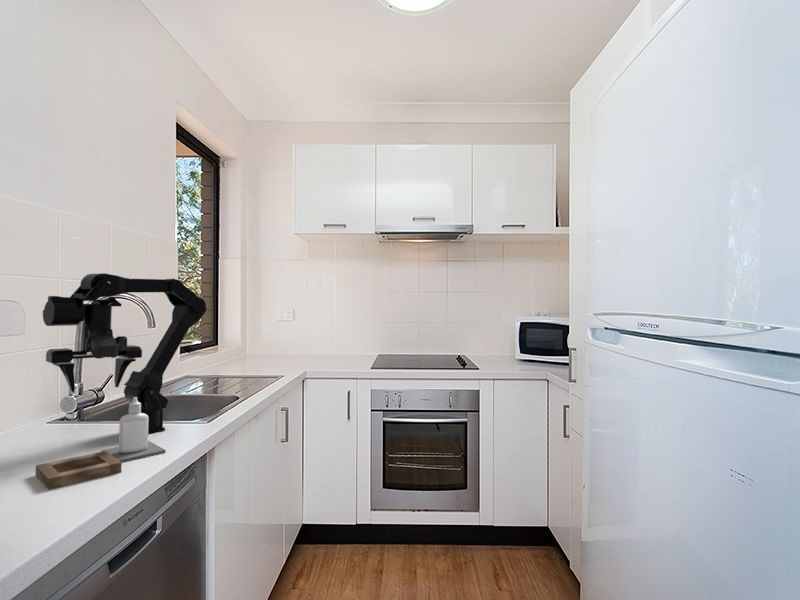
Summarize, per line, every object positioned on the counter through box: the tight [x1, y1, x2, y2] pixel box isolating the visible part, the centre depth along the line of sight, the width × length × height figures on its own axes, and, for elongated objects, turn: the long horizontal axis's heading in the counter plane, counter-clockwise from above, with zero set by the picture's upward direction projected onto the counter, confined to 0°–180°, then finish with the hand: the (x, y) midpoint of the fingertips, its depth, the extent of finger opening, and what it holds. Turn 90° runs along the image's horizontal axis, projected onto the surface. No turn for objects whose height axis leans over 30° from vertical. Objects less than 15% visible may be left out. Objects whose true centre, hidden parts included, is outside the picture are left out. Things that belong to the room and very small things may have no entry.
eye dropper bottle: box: [118, 397, 149, 453], centre depth 104 cm, size 4×6×12 cm
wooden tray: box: [35, 451, 123, 490], centre depth 91 cm, size 12×10×2 cm
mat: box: [100, 440, 166, 463], centre depth 104 cm, size 10×10×1 cm
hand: (95, 389), depth 110 cm, fingers open, 9 cm apart
